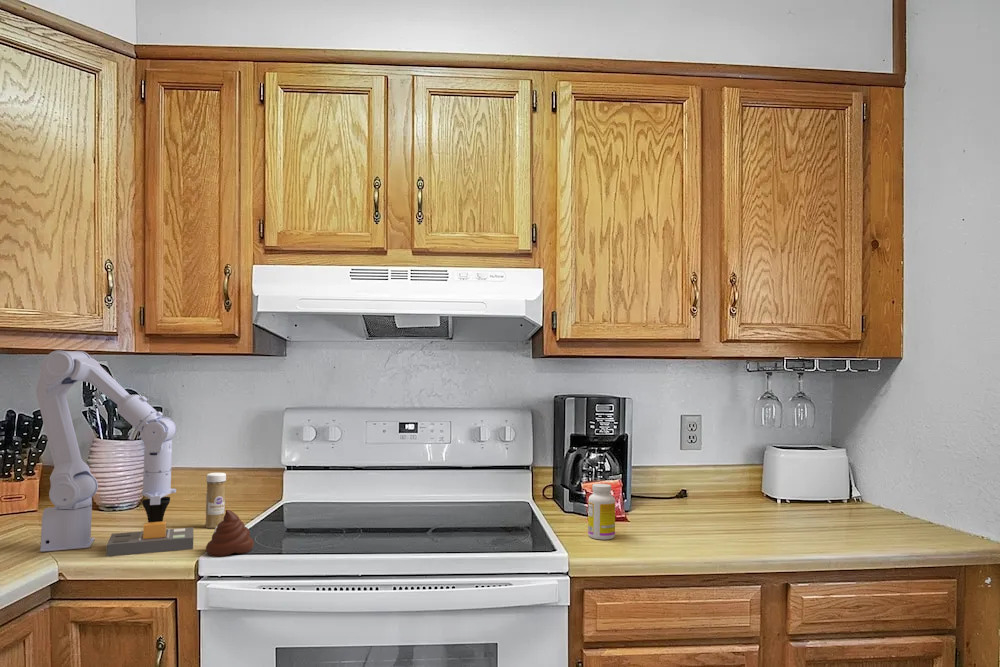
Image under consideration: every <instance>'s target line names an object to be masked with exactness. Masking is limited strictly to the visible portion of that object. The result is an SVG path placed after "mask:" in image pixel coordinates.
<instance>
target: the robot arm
mask: <svg viewBox="0 0 1000 667" xmlns="http://www.w3.org/2000/svg"><path fill="white" fill-rule="evenodd" d="M39 369H40V373H39V377H38V381H37V384H36V388H35V394H36V399H37V403H38V407H39V410H40V415H41V419H42V422H43V427H44V431H45V435H46V438H47V442H48V447H49V451H50V454H51V458H52V463H53V466H54V467H53V470H52V472H51V474H50V476H49V481H50V487H49V488H50V489H49V492H48V495H49V496H48V497H49V500H50V501H51V503H52V504H53V505H54V506H52V507H46V508H44V509H43V512H42V515H41V516H42V517H41V532H40V549H39V552H53V551H54V552H57V551H65V550H66V551H67V550H76V549H77V550H78V549H89V548H91V546H92V544H93V542H94V541H95V537H93V536H92V517H93V516H92V514H93V513H92V511H93V500H92V499H93V497H94V496H95V495H96V494H97V492H98V490H99V483H98V480H97V478H96V477H95V476H94V475H93V474H92V472H91V468H90V466H89V465H88V464H87V463H86V462H84V460H83V458H82V454H81V451H80V447H79V443H78V439H77V435H76V431H75V428H74V424H73V419H72V415H71V411H70V406H69V403H68V399H67V393H68V392H69V391H70V390H71V388H72V387H73V386H74V384H75V383H77V382H78V381H79V382H84V383H89V384H91V385H92V386H93V387H95V388H96V389H97V391H100V392H101V393H102V394H103V395H104V396H105V397H107V398H108V399H109V400H111V401H112V402H113V403H115V404H116V405H117V414H118V415H120V416H121V417H122V418H123V419H124V420H125V421H126V422H128V424H130V426H132V427H133V428H134V429H135V430H136V431H138V432H139V434H140V439H141V440H142V442H143V443H144V452H143V453H144V454H143V473H142V474H143V477H142V479H143V480H142V491H141V496H144V497H145V498H144V499H143V500H142V502H141V505H142V506H143V508H144V510H145V513H146V517H147V522H161V521H164V516H165V513H166V510H167V508H168V506H169V504H170V502H171V497H170V496H169V495H170V494H175V493H177V488H171V486H172V484H171V483H172V462H173V461H172V460H173V458H172V457H173V438H174V437H175V435H176V433H177V426H176V423H175V422H174V421H173V418H170V417H168V416H163V415H164V414H163V413H162V412H161V411H157V409H155V408H154V407H153V406H152V405H151V404H149V403H148V402H147V401H148V398H147V397H145V395H143V396H140V395H139V394H130V393H129V392H128V391H127V390H126V389H124V387H123V386H122V385H121V384H119V383H118V381H117V380H115V379H114V378H113V377H112V376H111V375H110V374H109V372H107V371H106V370H105V368H103V367H102V365H100V363H99V361H98V360H96V359H95V358H93V357H91V356H90V354H88V353H87V352H86V351H84V350H74V351H72V350H69V351H68V350H62V349H61V350H60V349H58V350H54V351H51V352H49V353H48V354H47V355H46V356H45V357H44V359H43V360H41V361H40V363H39Z"/></svg>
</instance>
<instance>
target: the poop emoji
mask: <svg viewBox="0 0 1000 667" xmlns="http://www.w3.org/2000/svg"><path fill="white" fill-rule="evenodd" d="M223 519H224V520H223V521H222V522H220V523H219V524H218V526H217V527H216V528H214V530H213V533H212V536H211V539H210V541H208V543H207V544H206V547H205V551H206V553H207V554H208V555H210V556H212V557H226V556H231V555H232V554H247V553H249V552H251V551H252V550H253V549H254V545H255V542H254V539H253V538H252V537H251V536H250V535H251V534H250V532H251V531H250V530H249V528H248V527H247V526H245V522H243V521H242V520H241V519H240V517H239V515H238V514H236V513H234V511H232V510H229V509H225V512H224V518H223Z"/></svg>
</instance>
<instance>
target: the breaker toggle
mask: <svg viewBox="0 0 1000 667" xmlns="http://www.w3.org/2000/svg"><path fill="white" fill-rule="evenodd" d="M166 529H167V521H166V520H163V521H161V522H148V521H147V522H144V524H143V539H149V538H161V537H165V535H166Z"/></svg>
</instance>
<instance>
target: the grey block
mask: <svg viewBox="0 0 1000 667" xmlns="http://www.w3.org/2000/svg"><path fill="white" fill-rule="evenodd" d="M193 549H194V527H181V528H168V529H167V528H166V535H165V537H161V538H149V539H143V530H140V531H128V532H127V531H126V532H118V533H117V532H116V533H114V532H113V533H111V535H110V537H109V538H108V541H107V543H106V555H105V556H106V557H115V556H127V555H129V556H130V555H139V554H149V553H163V552H172V551H182V550H183V551H185V550H193Z"/></svg>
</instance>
